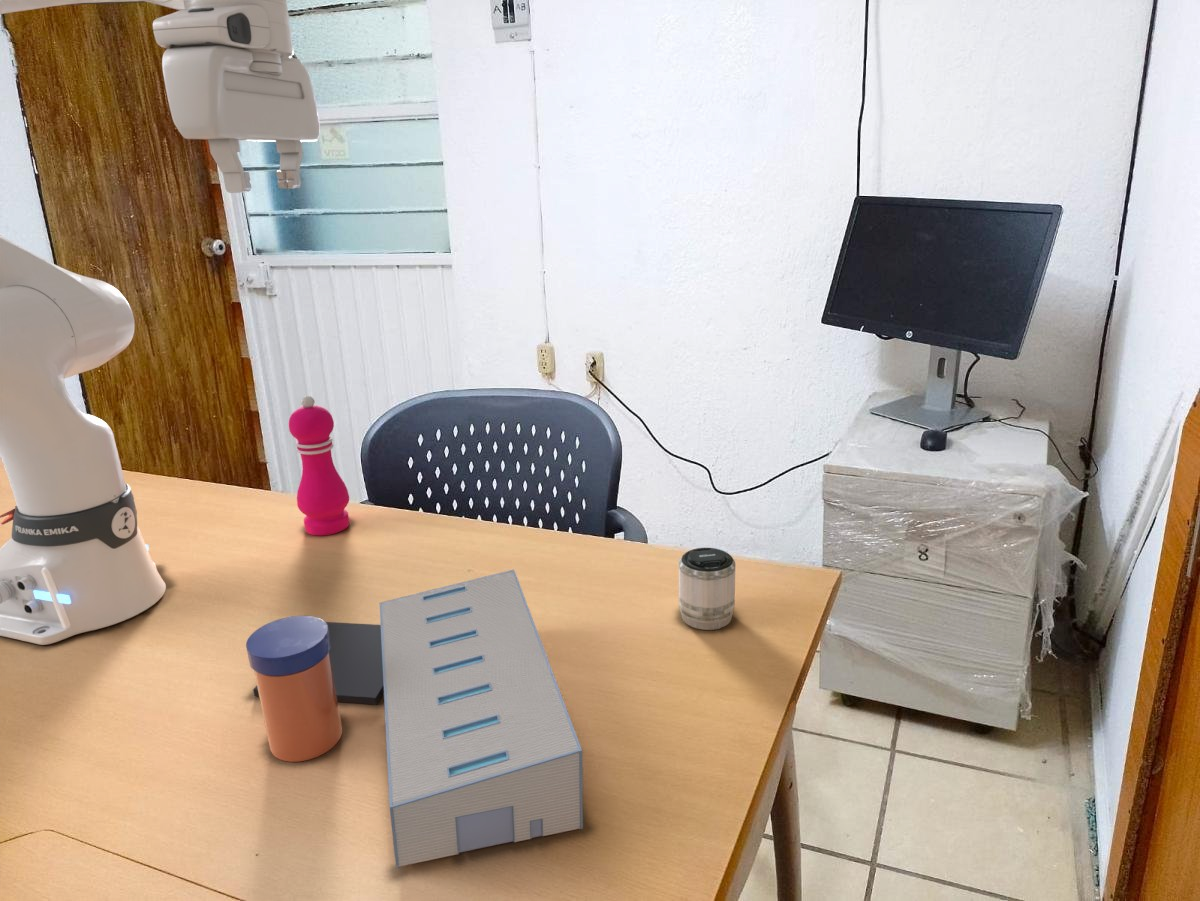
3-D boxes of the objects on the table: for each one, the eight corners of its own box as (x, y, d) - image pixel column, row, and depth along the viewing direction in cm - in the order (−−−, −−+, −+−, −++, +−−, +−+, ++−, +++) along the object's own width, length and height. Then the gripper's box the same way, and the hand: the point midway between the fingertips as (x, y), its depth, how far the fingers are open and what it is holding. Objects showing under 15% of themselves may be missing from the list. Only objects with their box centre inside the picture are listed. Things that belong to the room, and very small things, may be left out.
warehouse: (384, 649, 89) (377, 586, 86) (516, 629, 92) (514, 569, 90) (396, 868, 62) (387, 786, 59) (583, 828, 65) (582, 750, 63)
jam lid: (232, 673, 71) (229, 655, 70) (274, 630, 77) (271, 613, 77) (308, 678, 70) (304, 660, 69) (343, 634, 76) (341, 617, 76)
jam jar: (256, 759, 74) (234, 658, 71) (291, 714, 80) (273, 618, 77) (322, 764, 73) (304, 662, 70) (353, 718, 79) (338, 622, 76)
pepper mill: (338, 538, 118) (317, 403, 111) (292, 536, 119) (268, 402, 112) (361, 518, 124) (343, 389, 118) (317, 515, 126) (297, 388, 119)
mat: (254, 696, 83) (252, 689, 83) (315, 627, 95) (314, 621, 95) (376, 704, 81) (375, 698, 81) (423, 633, 93) (422, 627, 93)
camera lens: (742, 627, 92) (744, 564, 89) (688, 635, 91) (688, 571, 88) (723, 600, 98) (724, 539, 95) (672, 607, 97) (671, 546, 94)
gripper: (268, 49, 87) (289, 187, 92) (137, 20, 68) (172, 196, 73) (324, 46, 86) (342, 185, 91) (207, 15, 67) (238, 194, 72)
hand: (266, 190), depth 81 cm, fingers open, 8 cm apart
